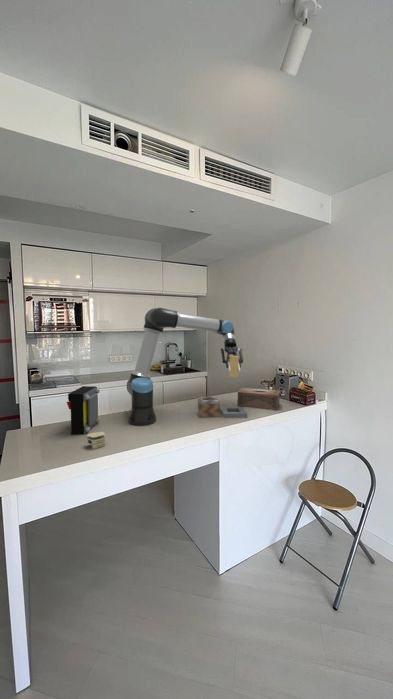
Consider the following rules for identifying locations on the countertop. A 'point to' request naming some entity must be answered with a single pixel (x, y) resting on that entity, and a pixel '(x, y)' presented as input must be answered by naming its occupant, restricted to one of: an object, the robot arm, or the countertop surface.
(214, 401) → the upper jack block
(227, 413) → the lower jack plate
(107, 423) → the countertop surface
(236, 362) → the pale yellow tall block
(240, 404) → the tissue box cover
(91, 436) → the beige layered block
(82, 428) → the electrical component
